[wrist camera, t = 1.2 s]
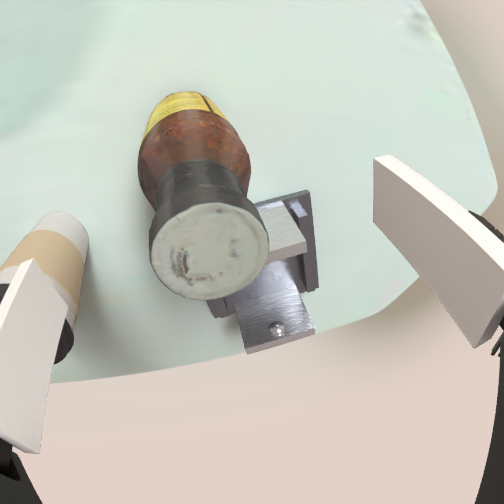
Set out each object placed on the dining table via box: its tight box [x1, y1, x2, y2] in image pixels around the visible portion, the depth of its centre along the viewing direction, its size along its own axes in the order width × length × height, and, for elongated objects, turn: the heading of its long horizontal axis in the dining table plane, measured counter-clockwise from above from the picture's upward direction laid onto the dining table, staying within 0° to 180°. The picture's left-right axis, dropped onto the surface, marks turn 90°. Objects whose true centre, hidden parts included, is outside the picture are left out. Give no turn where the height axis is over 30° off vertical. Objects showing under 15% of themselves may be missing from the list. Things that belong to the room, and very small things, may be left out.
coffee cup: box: [0, 212, 89, 364], centre depth 23 cm, size 9×9×15 cm
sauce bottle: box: [138, 91, 269, 300], centre depth 18 cm, size 6×6×20 cm
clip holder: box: [207, 190, 319, 354], centre depth 33 cm, size 14×14×8 cm
